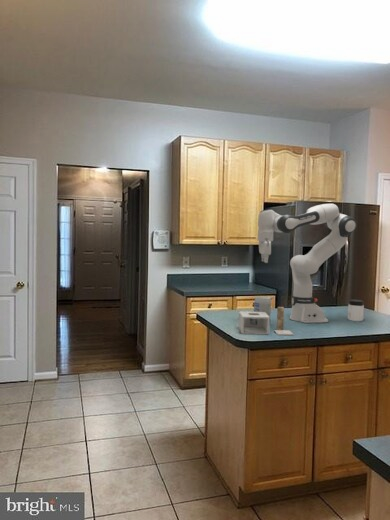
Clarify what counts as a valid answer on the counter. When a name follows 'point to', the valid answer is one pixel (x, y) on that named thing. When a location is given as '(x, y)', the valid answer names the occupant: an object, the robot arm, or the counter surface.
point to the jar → (355, 310)
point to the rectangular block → (280, 318)
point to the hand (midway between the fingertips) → (264, 262)
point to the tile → (283, 332)
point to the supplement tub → (262, 305)
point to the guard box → (247, 328)
